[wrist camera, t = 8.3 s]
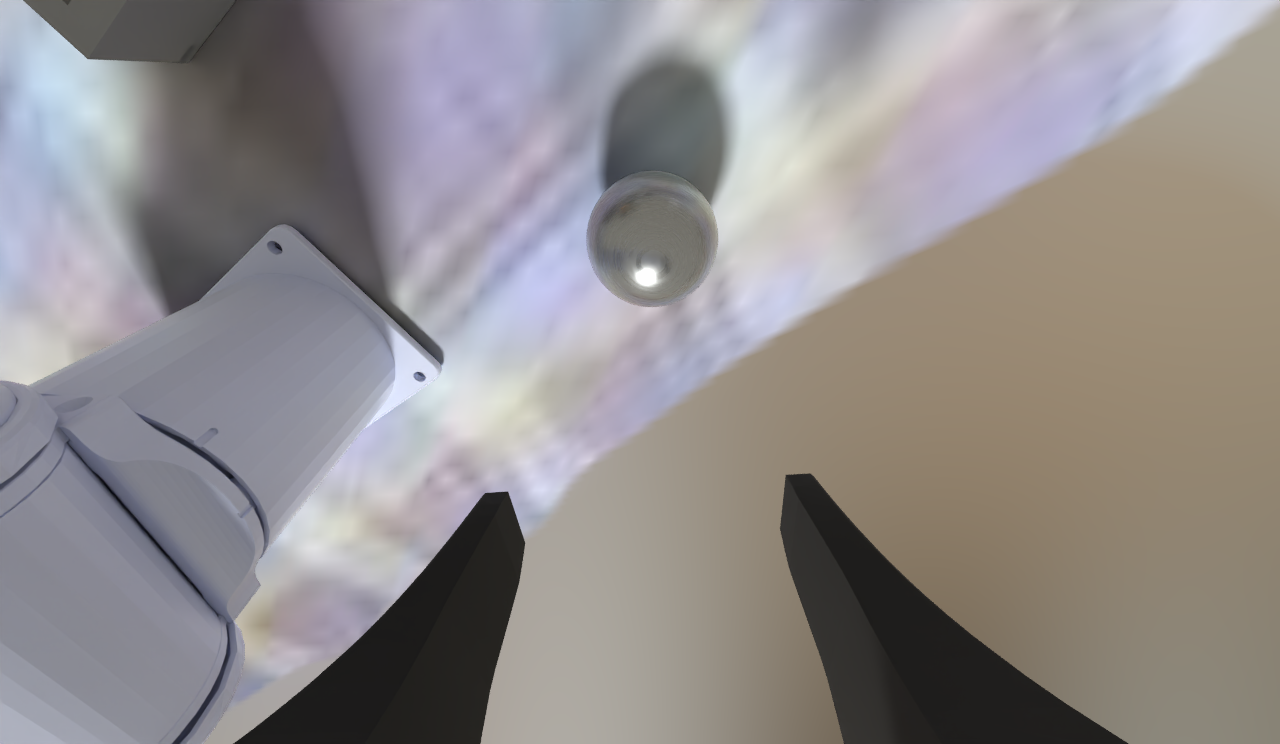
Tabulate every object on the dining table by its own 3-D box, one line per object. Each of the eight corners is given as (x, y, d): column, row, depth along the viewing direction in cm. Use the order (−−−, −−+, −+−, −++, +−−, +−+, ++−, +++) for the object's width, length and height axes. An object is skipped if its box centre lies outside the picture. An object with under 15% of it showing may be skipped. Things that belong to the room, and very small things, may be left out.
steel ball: (637, 299, 19) (635, 352, 16) (568, 209, 17) (548, 244, 14) (730, 238, 18) (754, 280, 14) (668, 133, 16) (675, 149, 12)
